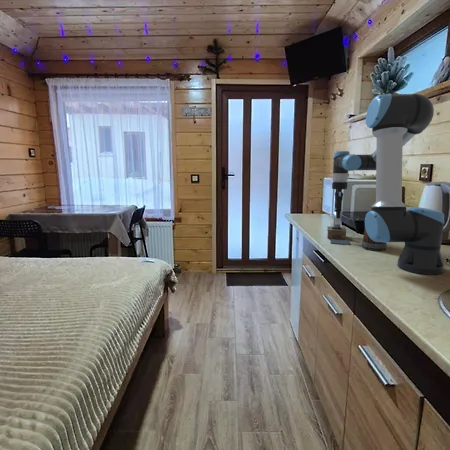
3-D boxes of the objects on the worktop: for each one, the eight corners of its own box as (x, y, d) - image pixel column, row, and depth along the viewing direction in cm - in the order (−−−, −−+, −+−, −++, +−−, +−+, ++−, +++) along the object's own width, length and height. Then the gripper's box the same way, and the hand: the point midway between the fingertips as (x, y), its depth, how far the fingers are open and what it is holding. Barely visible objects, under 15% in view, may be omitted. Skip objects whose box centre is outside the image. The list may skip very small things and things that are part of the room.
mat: (350, 244, 158) (350, 244, 158) (330, 243, 160) (330, 242, 160) (348, 240, 166) (348, 239, 166) (330, 239, 169) (330, 238, 169)
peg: (339, 238, 171) (341, 212, 168) (332, 238, 172) (334, 212, 169) (339, 237, 174) (341, 211, 172) (332, 236, 175) (334, 211, 173)
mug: (388, 251, 146) (392, 219, 143) (364, 250, 148) (366, 218, 145) (379, 243, 161) (382, 213, 158) (357, 242, 163) (359, 213, 160)
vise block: (345, 240, 168) (346, 230, 167) (326, 238, 170) (327, 229, 169) (344, 236, 176) (345, 227, 175) (326, 235, 179) (327, 226, 178)
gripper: (349, 183, 155) (346, 226, 159) (346, 180, 178) (343, 218, 182) (332, 182, 157) (330, 226, 161) (331, 180, 180) (329, 217, 184)
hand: (337, 222), depth 172 cm, fingers open, 12 cm apart
